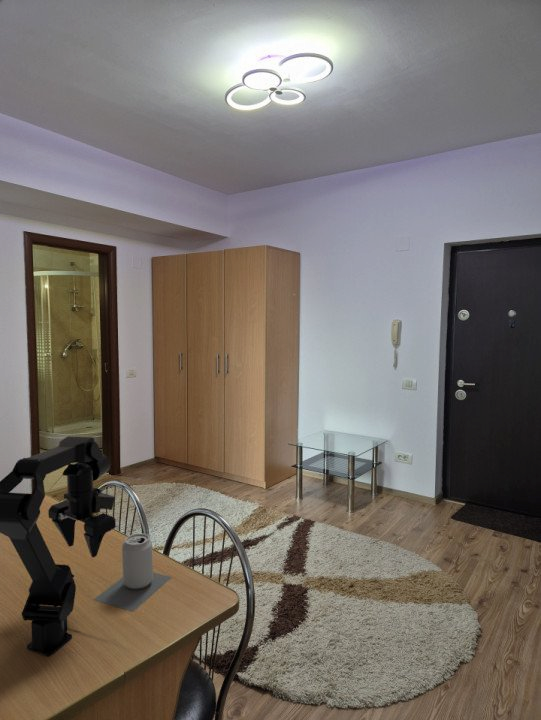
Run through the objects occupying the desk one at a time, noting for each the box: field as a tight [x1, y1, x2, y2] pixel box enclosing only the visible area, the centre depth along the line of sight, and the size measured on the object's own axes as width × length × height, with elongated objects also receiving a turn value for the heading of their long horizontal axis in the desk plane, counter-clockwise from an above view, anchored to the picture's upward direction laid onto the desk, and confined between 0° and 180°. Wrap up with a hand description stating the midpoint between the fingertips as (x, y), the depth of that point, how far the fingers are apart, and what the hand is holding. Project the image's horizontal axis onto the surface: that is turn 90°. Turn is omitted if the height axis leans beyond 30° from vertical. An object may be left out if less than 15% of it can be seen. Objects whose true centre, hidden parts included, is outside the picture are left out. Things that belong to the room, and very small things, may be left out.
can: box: [121, 532, 154, 589], centre depth 121 cm, size 8×8×12 cm
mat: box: [93, 571, 173, 612], centre depth 120 cm, size 16×12×1 cm
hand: (82, 551), depth 114 cm, fingers open, 9 cm apart
